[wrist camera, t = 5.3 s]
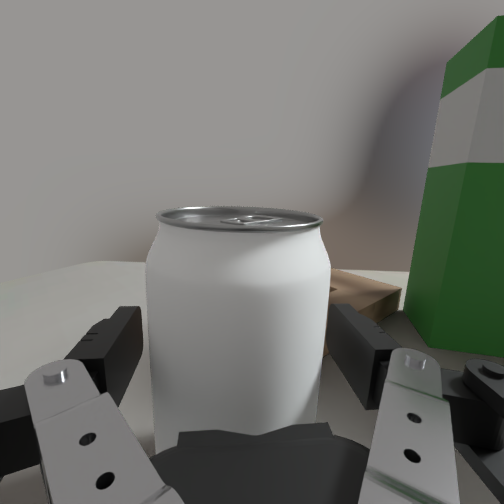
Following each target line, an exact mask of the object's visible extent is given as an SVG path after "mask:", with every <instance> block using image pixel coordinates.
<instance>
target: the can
mask: <svg viewBox="0 0 504 504" xmlns="http://www.w3.org/2000/svg"><path fill="white" fill-rule="evenodd" d="M156 218H157V220H159V230H158V233H157V235H156V238H155V240H154V242H153V244H152V246H151V249H150V251H149V253H148V256H147V260H146V296H147V316H148V334H149V351H150V368H151V385H152V402H153V418H154V434H155V450H156V454H158V453H160V452H161V451H164V450H166V449H169V448H171V447H174V446H177V441H178V435H179V432H185V431H201V430H216V429H217V430H224V431H230V432H236V433H242V434H248V435H261V434H264V433H268V432H271V431H274V430H277V429H280V428H284V427H287V426H290V425H295V424H310V423H316V414H317V405H318V396H319V386H320V377H321V367H322V358H323V348H324V339H325V329H326V319H327V309H328V299H329V289H330V275H331V265H330V261H329V257H328V254H327V252H326V249H325V247H324V244H323V241H322V239H321V236H320V225H321V224H322V223H323V218H322V217H320V216H318V215H315V214H311V213H306V212H300V211H293V210H285V209H274V208H259V207H235V206H234V207H233V206H231V207H230V206H209V207H208V206H205V207H185V208H174V209H168V210H163V211H160V212H158V213H157V214H156Z"/></svg>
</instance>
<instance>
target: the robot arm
mask: <svg viewBox="0 0 504 504" xmlns="http://www.w3.org/2000/svg"><path fill="white" fill-rule="evenodd" d="M326 344H327V348H328V351H329V353H330V354H331V356H332V357H333V359H334V360H335V362H336V364H337V365H338V367H339V368H340V370H341V372H342V373H343V375H344V376H345V378H346V379H347V381H348V383H349V384H350V386H351V387H352V389H353V391H354V392H355V394H356V395H357V397H358V398H359V400H360V402H361V403H362V405H363V406H364V408H365V410H374V409H379V411H378V416H377V421H376V425H375V430H374V435H373V439H372V444H371V449H368V448H367V447H365V446H363V445H361V444H359V443H357V442H355V441H352V440H349V439H347V438H343V437H340V436H335V435H333V434H332V431H331V429H330V427H329V424H328V422H326V423H310V424H295V425H290V426H287V427H284V428H280V429H277V430H274V431H271V432H268V433H264V434H261V435H248V434H242V433H236V432H230V431H224V430H217V429H216V430H201V431H185V432H179V435H178V441H177V446H174V447H171V448H169V449H166V450H164V451H161V452H160V453H158V454H156V455H154V456H152V457H151V458H148V457H147V455H146V453H145V452H144V450H143V448H142V447H141V445H140V443H139V442H138V440H137V438H136V437H135V435H134V433H133V432H132V430H131V428H130V427H129V425H128V424H127V422H126V420H125V419H124V417H123V415H122V414H121V412H120V410H119V409H118V407H119V405H120V403H121V400H122V398H123V396H124V394H125V391H126V389H127V387H128V385H129V383H130V380H131V378H132V376H133V374H134V371H135V369H136V367H137V365H138V363H139V360H140V358H141V355H142V351H143V331H142V316H141V309H140V307H139V306H120V307H119V308H118V309H117V310H116V311H115V313H114V314H113V315H112V316H111V318H110V319H103V320H102V321H100V322H98V323H97V324H95V325H93V326H92V327H91V329H90V330H89V331H88V332H87V333H86V335H84V337H83V338H82V339H81V341H79V342H78V343H77V345H76V346H75V347H74V348H73V349H72V350H71V351H70V353H69V354H68V355H67V356H66V357H65V358H64V359H63V360H59V361H55V362H51V363H49V364H46V365H44V366H42V367H40V368H38V369H36V370H35V371H33V372H32V373H31V374H30V375H29V376H28V377H27V378H26V380H25V383H24V385H21V386H17V387H13V388H8V389H4V390H0V481H1V480H2V478H3V477H4V476H5V475H8V474H11V473H14V472H17V471H20V470H23V469H26V468H29V467H32V466H35V465H38V464H40V469H41V474H42V478H43V483H44V487H45V492H46V496H47V501H48V504H460V499H459V490H458V480H457V471H456V461H455V452H454V446H455V448H456V449H457V450H458V451H459V453H460V454H461V455H462V456H463V458H464V459H465V460H466V461H467V462H468V464H469V465H470V466H471V467H472V469H473V470H474V471H475V472H476V474H477V475H478V476H479V477H480V479H481V480H482V481H483V482H484V483H485V485H486V486H487V487H488V488H489V490H490V491H491V492H492V493H493V495H494V496H495V497H496V498H497V499H498V501H499V502H500V503H501V504H504V366H502V365H500V364H497V363H494V362H491V361H488V360H483V359H470V360H467V362H466V365H465V369H464V372H460V371H454V370H448V369H442V368H440V365H439V363H438V362H437V361H436V360H435V359H434V358H432V357H431V356H429V355H428V354H426V353H423V352H421V351H418V350H415V349H410V348H402V347H401V346H400V345H399V344H398V343H397V342H396V341H395V340H394V339H392V338H391V337H390V336H389V335H388V334H387V333H385V331H384V330H383V329H382V328H379V326H378V325H377V324H376V323H375V322H374V321H373V320H372V319H370V318H368V317H366V316H364V315H362V314H359V313H358V312H357V311H356V310H355V309H354V308H353V307H352V306H351V305H350V304H348V303H344V304H331V305H330V307H329V312H328V322H327V331H326Z"/></svg>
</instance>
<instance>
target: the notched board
mask: <svg viewBox="0 0 504 504" xmlns="http://www.w3.org/2000/svg"><path fill="white" fill-rule="evenodd" d="M401 290H402V288H400V287H396V286H393V285H389V284H386V283H382V282H379V281H375V280H372V279H368V278H365V277H361V276H357V275H354V274H350V273H347V272H343V271H340V270H336V269H333V268H331V275H330V289H329V299H328V309H327V319H326V329H325V339H324V348H323V357H324V356H325V355H327V354H329V351H328V348H327V344H326V331H327V322H328V312H329V307H330V305H331V304H344V303H348V304H350V305H351V306H352V307H353V308H354V309H355V310H356V311H357V312H358V313H359V314H362V315H364V316H366V317H368V318H370V319H372V320H373V321H374V322H375V323H378V322H379V321H381V320H382V319H384V318H386V317H387V316H389V315H390V314H392V313H393V312H395V311H397V310H398V308H399V302H400V296H401Z"/></svg>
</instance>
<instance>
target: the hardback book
mask: <svg viewBox="0 0 504 504" xmlns="http://www.w3.org/2000/svg"><path fill="white" fill-rule="evenodd" d="M403 311H404V312H405V314H406V315H407V317H408V318H409V320H410V321H411V322H412V324H413V325H414V327H415V328H416V330H417V331H418V333H419V334H420V335H421V337H422V338H423V340H424V341H425V343H426V344H427V346H428V347H431V348H438V349H445V350H452V351H460V352H467V353H474V354H481V355H489V356H496V357H503V358H504V16H497V17H496V18H495V19H494V20H493V21H492V22H491V23H490V24H488V25H487V26H486V27H485V28H484V29H483V30H482V31H481V32H480V33H479V34H478V35H476V37H474V38H473V39H472V40H471V41H470V42H469V43H468V44H467V45H466V46H465V47H464V48H462V49H461V50H460V51H459V52H458V53H457V54H456V55H455V56H454V57H453V58H452V59H451V60H449V61H448V62H447V65H446V71H445V76H444V82H443V88H442V94H441V99H440V104H439V110H438V116H437V121H436V127H435V132H434V138H433V144H432V149H431V155H430V161H429V166H428V172H427V178H426V183H425V189H424V195H423V200H422V206H421V211H420V217H419V223H418V229H417V234H416V240H415V246H414V251H413V257H412V263H411V268H410V273H409V279H408V285H407V290H406V296H405V302H404V307H403Z"/></svg>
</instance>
